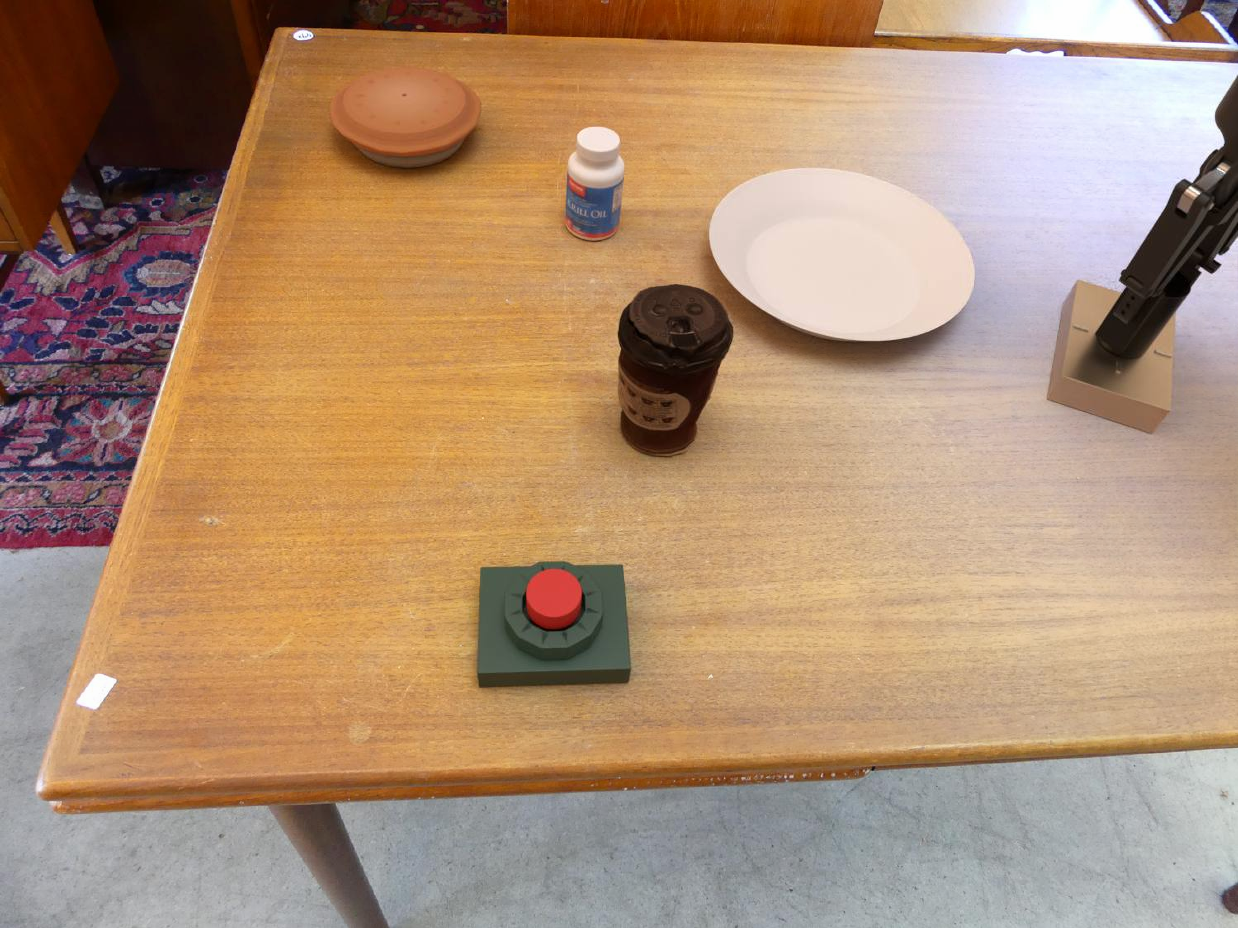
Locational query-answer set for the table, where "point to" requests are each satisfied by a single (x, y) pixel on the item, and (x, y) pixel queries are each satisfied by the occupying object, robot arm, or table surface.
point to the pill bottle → (594, 184)
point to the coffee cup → (669, 365)
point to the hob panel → (1109, 365)
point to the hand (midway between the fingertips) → (1127, 331)
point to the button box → (552, 630)
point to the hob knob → (1156, 318)
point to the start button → (553, 599)
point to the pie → (405, 115)
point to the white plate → (841, 254)
